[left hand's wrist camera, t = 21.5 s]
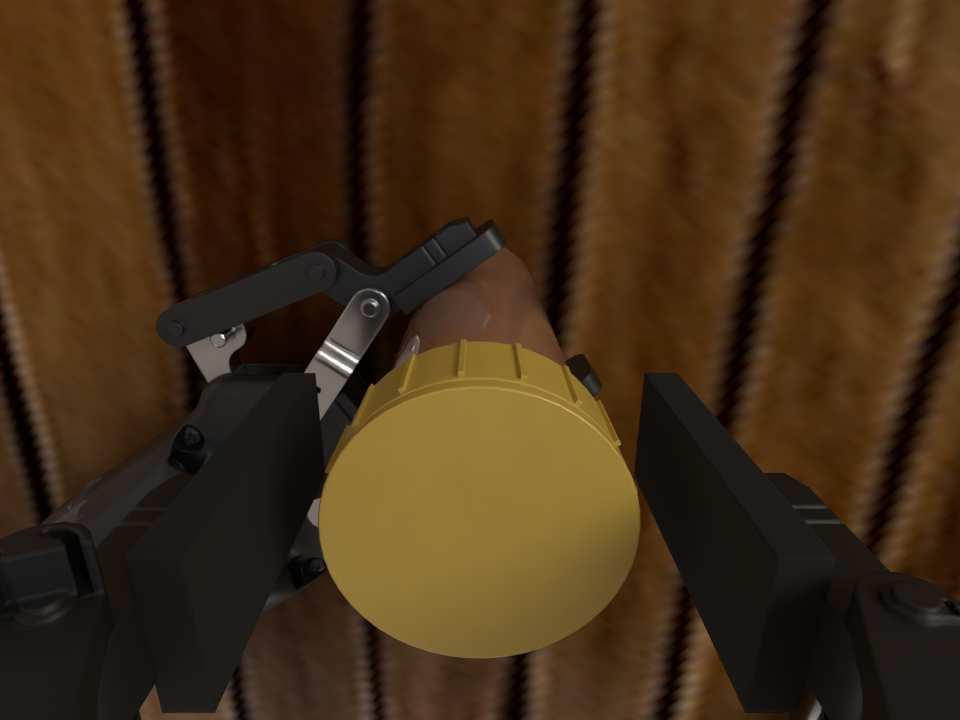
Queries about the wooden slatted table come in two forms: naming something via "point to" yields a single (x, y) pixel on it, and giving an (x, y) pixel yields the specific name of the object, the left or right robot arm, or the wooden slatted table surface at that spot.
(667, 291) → the wooden slatted table surface
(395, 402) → the lid
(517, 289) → the jar
